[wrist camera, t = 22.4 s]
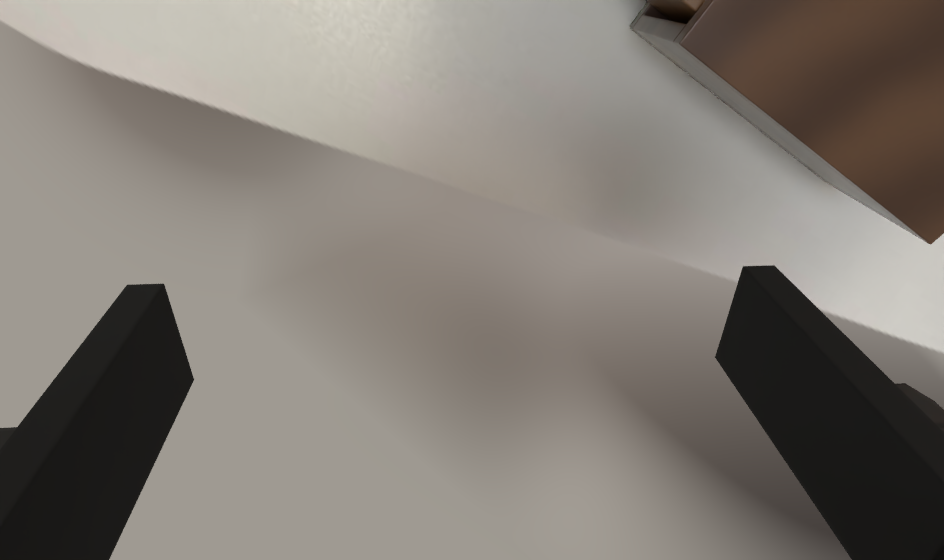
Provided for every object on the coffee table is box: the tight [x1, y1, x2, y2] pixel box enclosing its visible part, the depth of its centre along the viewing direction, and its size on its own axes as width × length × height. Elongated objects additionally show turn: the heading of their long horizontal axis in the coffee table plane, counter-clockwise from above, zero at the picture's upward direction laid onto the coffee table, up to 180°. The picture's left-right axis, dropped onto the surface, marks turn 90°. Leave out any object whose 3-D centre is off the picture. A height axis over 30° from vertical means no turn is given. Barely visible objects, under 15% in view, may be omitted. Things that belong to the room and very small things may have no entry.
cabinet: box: [630, 0, 944, 244], centre depth 25 cm, size 15×13×9 cm
